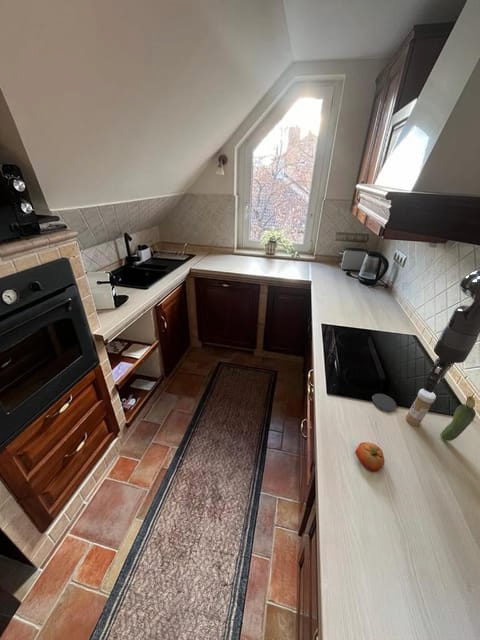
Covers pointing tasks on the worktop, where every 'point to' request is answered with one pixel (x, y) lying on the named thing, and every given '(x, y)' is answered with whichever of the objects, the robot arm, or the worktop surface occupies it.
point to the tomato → (370, 456)
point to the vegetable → (460, 420)
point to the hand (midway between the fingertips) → (432, 384)
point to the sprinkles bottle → (420, 407)
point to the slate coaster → (384, 402)
